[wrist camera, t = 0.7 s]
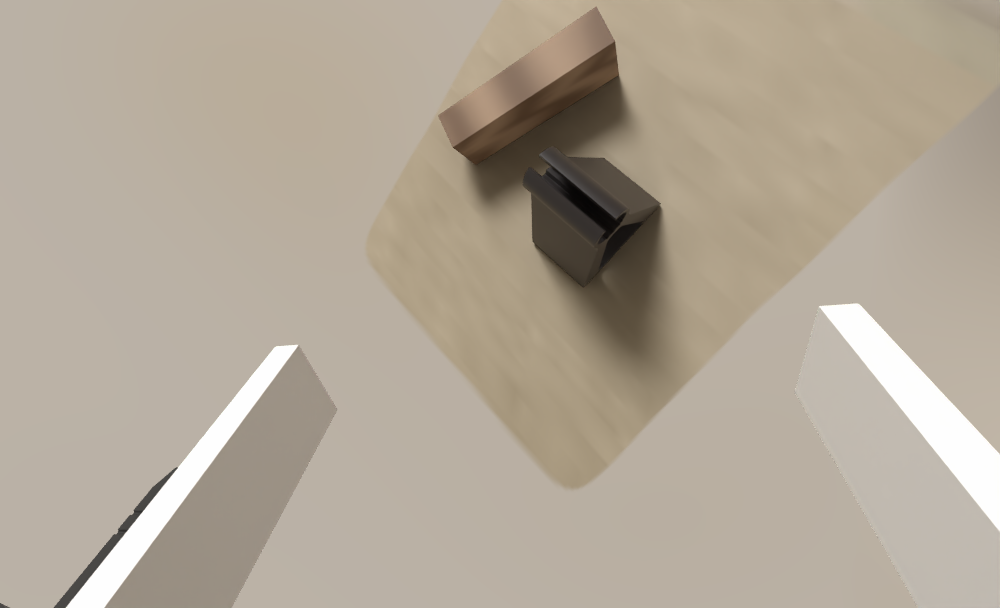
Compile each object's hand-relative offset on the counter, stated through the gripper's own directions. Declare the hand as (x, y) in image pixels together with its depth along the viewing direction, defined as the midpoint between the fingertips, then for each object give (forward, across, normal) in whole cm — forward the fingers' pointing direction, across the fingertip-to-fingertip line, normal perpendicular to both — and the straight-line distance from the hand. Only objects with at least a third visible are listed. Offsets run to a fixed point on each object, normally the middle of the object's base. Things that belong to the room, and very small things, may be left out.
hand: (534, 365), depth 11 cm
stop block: (+32, -2, 0) cm, 32 cm away
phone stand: (+26, +2, -9) cm, 27 cm away
